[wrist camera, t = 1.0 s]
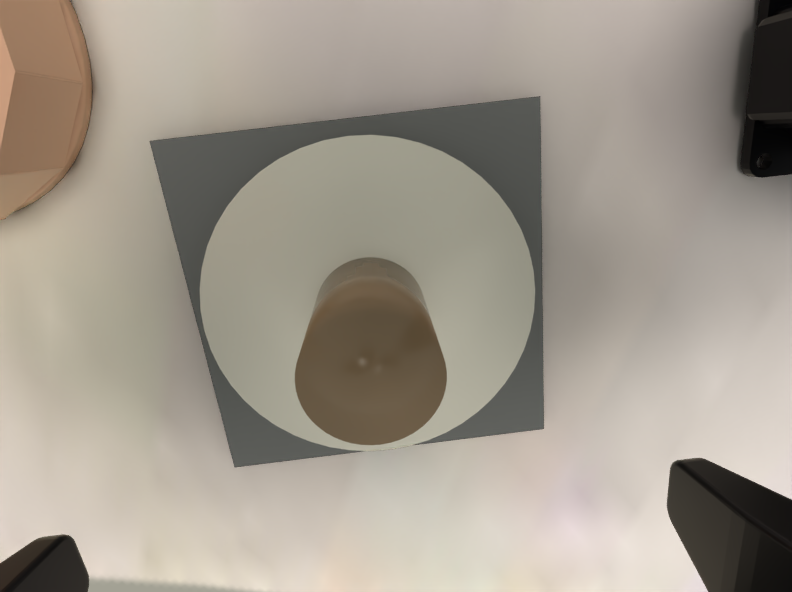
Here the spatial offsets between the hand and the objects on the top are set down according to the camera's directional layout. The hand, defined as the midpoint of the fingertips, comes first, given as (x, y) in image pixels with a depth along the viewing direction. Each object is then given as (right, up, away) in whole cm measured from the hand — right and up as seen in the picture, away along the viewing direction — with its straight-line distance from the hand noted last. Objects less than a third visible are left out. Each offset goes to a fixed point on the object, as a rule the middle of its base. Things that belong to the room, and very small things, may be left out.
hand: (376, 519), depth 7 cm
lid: (-1, +3, +10) cm, 10 cm away
